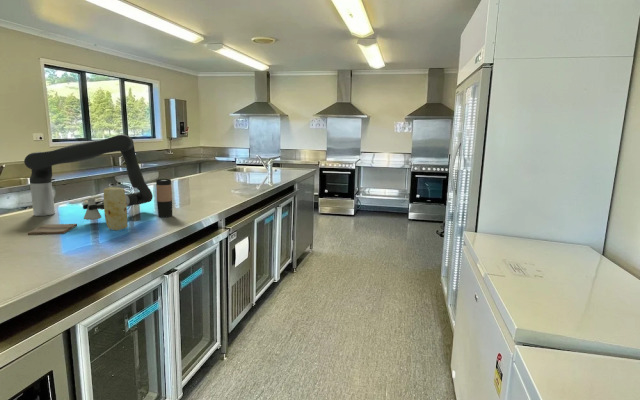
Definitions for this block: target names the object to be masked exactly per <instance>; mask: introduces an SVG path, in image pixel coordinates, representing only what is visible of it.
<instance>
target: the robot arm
mask: <svg viewBox="0 0 640 400" xmlns="http://www.w3.org/2000/svg"><path fill="white" fill-rule="evenodd" d="M134 144H135V143H134V140H133V138H132V137H131V136H129V135H127V134H123V133H121V134H117V135H114V136H111V137H108V138H103V139H99V140H90V141H84V142H80V143H74V144H73V143H72V144H70V145H66V146H63V147H60V148H57V149H53V150H49V151H38V152H37V151H36V152H31V153H29V154H27V155H26V156H25V158H24V161H23V162H24V163H23V164H24V165H25V166H26V167H27V168H28V169H29V170H31V175H30V177H29V186H30V196H31V203H32V212H33V216H37V217H41V216H42V217H43V216H51V215H54V214H56V210H55V203H54V201H55V200H54V192H53V183H52V181H53V180H52V178H53V166H57V165H61V164H70V163H76V162H77V163H79V162H82V161H87V160H92V159H94V158H97V157H100V156H101V155H104V154H109V153H117V152H120V153H121V155H122V158H123V159H124V162H125V166H126V172H127V177H128V178H129V182H130V184H131V187H132V188H134V189H137V190H138V191H135V192H131V193H130V192H128V193H125V197H126V203H127V208H128V207H132V206H136V205H142V204H147V203H150V202H152V201H153V193H152V190H151V189H150V188H149V186H148V184H147V183H146V182H145V179H144V176H143V173H142V170H141V167H140V164H139V162H138V159H137V155H136V151H135V145H134ZM87 207H88V209H89V210H94V209H98V210H104V199H101V200H96V199H95V205H90V206H88V203H87V204H83V205H82V209H83V210H87Z"/></svg>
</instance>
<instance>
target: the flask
mask: <svg viewBox="0 0 640 400" xmlns="http://www.w3.org/2000/svg"><path fill="white" fill-rule="evenodd" d="M95 200H96V198H95V197H91V198H90V197H89V198H87V204H88V206H90V205H95ZM101 218H102V215H101V213H100V211H99V209H94V210H89V209H88V207H87V209H86V210H85V213H84V217H83V219H84V220H88V221H89V220H90V221H92V220H93V221H94V220H95V221H96V220H98V219H101Z"/></svg>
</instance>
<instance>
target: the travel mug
mask: <svg viewBox="0 0 640 400" xmlns="http://www.w3.org/2000/svg"><path fill="white" fill-rule="evenodd" d="M155 184H156V204H157V215H158V217H159V218H170V217H173V191H172V190H173V189H172V180H171V178H160V179H159V178H158V179H156V180H155Z"/></svg>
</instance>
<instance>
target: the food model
mask: <svg viewBox="0 0 640 400" xmlns="http://www.w3.org/2000/svg"><path fill="white" fill-rule="evenodd" d="M125 194H126V190H125V188H123V187H118V186H109V187H106V188H103V200H104V209H103V212H104V217H105V224H106V226H107V228H108V230H109V229H110V230H112V231H115V232H116V231H121V230H124V229H127V228H128V227H129V226H128V225H129V224H128V207H127V203H126V197H125Z"/></svg>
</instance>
